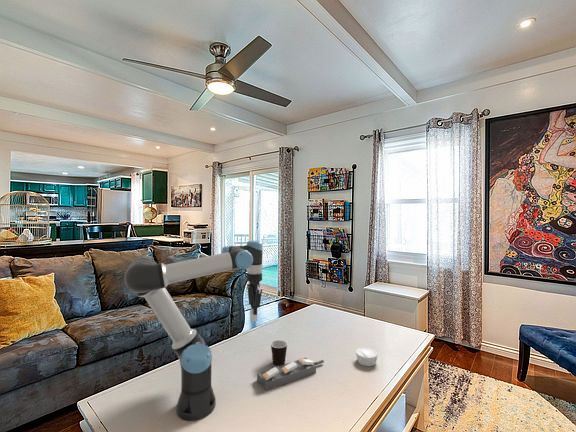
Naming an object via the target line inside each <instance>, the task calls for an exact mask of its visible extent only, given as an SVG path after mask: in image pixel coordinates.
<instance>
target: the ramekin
mask: <svg viewBox="0 0 576 432" xmlns="http://www.w3.org/2000/svg"><path fill="white" fill-rule="evenodd" d="M378 354H379V353H378V352H377V351H376V350H375V349H373V348H370V347H358V348H356V349H355V355H356V361H357V362H358V364H360V365H362V366H364V367H373V366H375V365H376V364H377V359H378V356H379V355H378Z"/></svg>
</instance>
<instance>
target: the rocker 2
mask: <svg viewBox="0 0 576 432" xmlns="http://www.w3.org/2000/svg"><path fill="white" fill-rule="evenodd" d="M289 363H290V362H289ZM296 367H297V364H296V363H295V362H294V361H291V363H290V364H288V365H286V366H284V367H283V368H281V370H282V371H283V372H284V373H285V374H286V373H287V372H289V371H291V370H293V369H294V368H296Z"/></svg>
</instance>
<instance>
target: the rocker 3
mask: <svg viewBox="0 0 576 432" xmlns="http://www.w3.org/2000/svg"><path fill="white" fill-rule="evenodd" d="M298 360H299V362H300V363H301V364H306V365H313V364H314V363H315V361H313V360H312V359H308V358H307V359H303V358H299V359H298Z"/></svg>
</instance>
